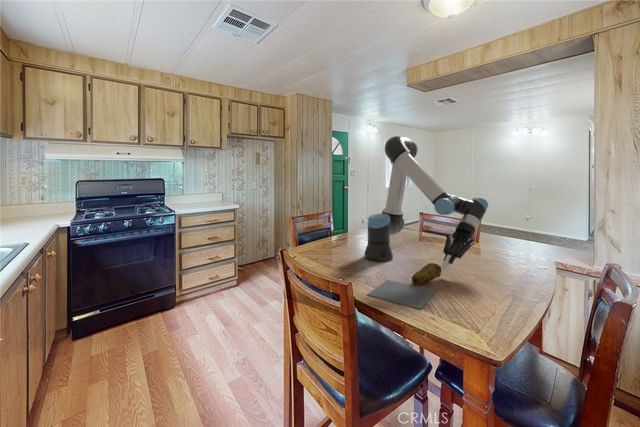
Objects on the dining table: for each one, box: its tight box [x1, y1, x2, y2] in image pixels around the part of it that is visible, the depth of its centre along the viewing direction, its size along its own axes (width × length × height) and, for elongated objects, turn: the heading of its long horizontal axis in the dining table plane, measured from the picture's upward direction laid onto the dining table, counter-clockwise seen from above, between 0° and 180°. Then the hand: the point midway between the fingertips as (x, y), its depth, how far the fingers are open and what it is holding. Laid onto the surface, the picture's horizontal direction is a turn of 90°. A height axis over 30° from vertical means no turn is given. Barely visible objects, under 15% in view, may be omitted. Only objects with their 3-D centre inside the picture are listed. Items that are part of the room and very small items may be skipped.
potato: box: [411, 262, 442, 285], centre depth 118 cm, size 8×13×8 cm, turn 92°
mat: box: [366, 279, 437, 310], centre depth 108 cm, size 20×18×1 cm
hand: (443, 268), depth 124 cm, fingers closed
